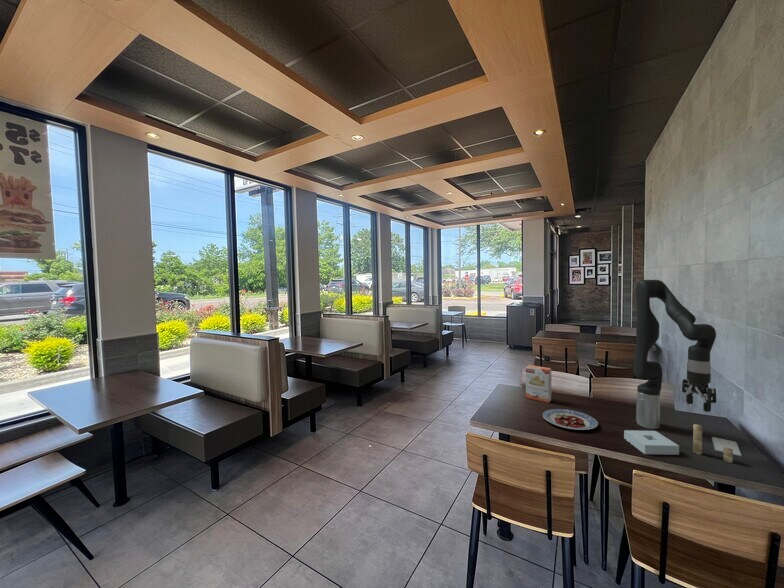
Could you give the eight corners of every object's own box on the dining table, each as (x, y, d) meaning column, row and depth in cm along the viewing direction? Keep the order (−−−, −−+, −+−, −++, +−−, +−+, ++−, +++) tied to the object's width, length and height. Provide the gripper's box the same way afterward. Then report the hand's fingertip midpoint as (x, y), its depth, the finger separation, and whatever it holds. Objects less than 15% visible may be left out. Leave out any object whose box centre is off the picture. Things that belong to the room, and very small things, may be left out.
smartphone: (714, 449, 143) (711, 436, 155) (714, 451, 143) (711, 438, 155) (742, 456, 138) (736, 441, 149) (742, 458, 138) (736, 443, 149)
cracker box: (525, 398, 210) (525, 366, 209) (528, 395, 214) (528, 364, 214) (548, 403, 201) (548, 369, 200) (551, 400, 205) (551, 367, 204)
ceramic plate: (606, 435, 159) (606, 429, 159) (550, 431, 164) (550, 425, 164) (586, 414, 184) (586, 409, 184) (537, 411, 189) (537, 406, 189)
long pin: (691, 451, 143) (691, 424, 143) (697, 451, 143) (698, 424, 142) (696, 454, 140) (697, 427, 140) (703, 454, 140) (704, 427, 140)
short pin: (721, 458, 137) (721, 447, 136) (728, 459, 136) (728, 447, 136) (727, 462, 134) (727, 450, 134) (734, 462, 134) (734, 450, 133)
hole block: (624, 438, 155) (624, 430, 155) (655, 439, 154) (655, 430, 154) (644, 454, 141) (644, 445, 141) (679, 454, 140) (679, 445, 140)
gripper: (676, 366, 148) (675, 401, 148) (704, 374, 133) (703, 414, 134) (693, 366, 147) (693, 401, 148) (723, 375, 133) (722, 414, 133)
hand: (698, 407), depth 141 cm, fingers open, 8 cm apart
